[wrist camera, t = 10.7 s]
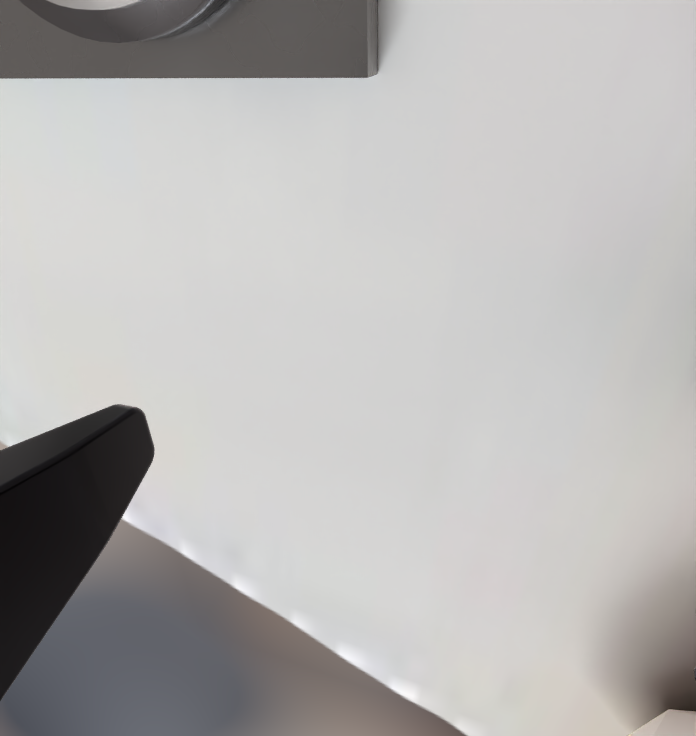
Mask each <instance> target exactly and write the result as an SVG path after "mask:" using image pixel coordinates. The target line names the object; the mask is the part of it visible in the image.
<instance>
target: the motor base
mask: <svg viewBox="0 0 696 736" xmlns="http://www.w3.org/2000/svg"><path fill="white" fill-rule="evenodd" d="M376 74H378V52H377V0H0V78H368V77H371V76H373V75H376Z"/></svg>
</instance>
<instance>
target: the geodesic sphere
mask: <svg viewBox="0 0 696 736" xmlns="http://www.w3.org/2000/svg"><path fill="white" fill-rule="evenodd" d="M627 736H696V711H684V710H672V709H668V710H667V711H665V712H664V713H662V714H660V715H659V716H657V717H656V718H654V719H653V720H651V721H649V722H648V723H646V724H645V725H643V726H641V727H640V728H638V729H637V730H635V731H634V732H632V733H630V734H629V735H627Z"/></svg>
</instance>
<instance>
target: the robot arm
mask: <svg viewBox="0 0 696 736" xmlns="http://www.w3.org/2000/svg"><path fill="white" fill-rule="evenodd" d="M153 457H154V444H153V441H152V437H151V434H150V430H149V427H148V423H147V420H146V416H145V414H144V412H143V411H142V410H141V409H139V408H137V407H132V406H127V405H121V404H117V405H112V406H110V407H107V408H105V409H102V410H100V411H97V412H95V413H92V414H90V415H87V416H85V417H82V418H80V419H78V420H75V421H73V422H70V423H68V424H65V425H63V426H60V427H58V428H55V429H53V430H50V431H48V432H45V433H43V434H40V435H38V436H35V437H33V438H30V439H28V440H25V441H23V442H20V443H18V444H15V445H13V446H10V447H8V448H5V449H3V450H0V701H1V699H2V698H3V696H4V695H5V693H6V692H7V690H8V689H9V688H10V686H11V684H12V683H13V682H14V680H15V679H16V677H17V676H18V674H19V673H20V671H21V670H22V668H23V667H24V665H25V664H26V663H27V661H28V659H29V658H30V657H31V655H32V654H33V652H34V651H35V649H36V648H37V646H38V645H39V643H40V642H41V641H42V639H43V638H44V636H45V635H46V633H47V632H48V630H49V629H50V627H51V626H52V624H53V623H54V621H55V620H56V618H57V617H58V616H59V614H60V612H61V611H62V609H63V608H64V607H65V605H66V604H67V602H68V601H69V599H70V598H71V596H72V595H73V594H74V592H75V590H76V589H77V588H78V586H79V585H80V583H81V582H82V580H83V579H84V577H85V576H86V574H87V573H88V572H89V570H90V568H91V567H92V566H93V564H94V563H95V561H96V560H97V558H98V557H99V555H100V554H101V552H102V551H103V549H104V547H105V546H106V544H107V543H108V541H109V539H110V538H111V536H112V534H113V532H114V531H115V529H116V527H117V525H118V523H119V522H120V520H121V518H122V516H123V514H124V513H125V511H126V509H127V507H128V505H129V503H130V502H131V500H132V498H133V496H134V494H135V492H136V491H137V489H138V487H139V485H140V483H141V482H142V480H143V478H144V476H145V474H146V472H147V471H148V469H149V467H150V465H151V463H152V461H153ZM694 675H695V680H696V667H695V669H694Z"/></svg>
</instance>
